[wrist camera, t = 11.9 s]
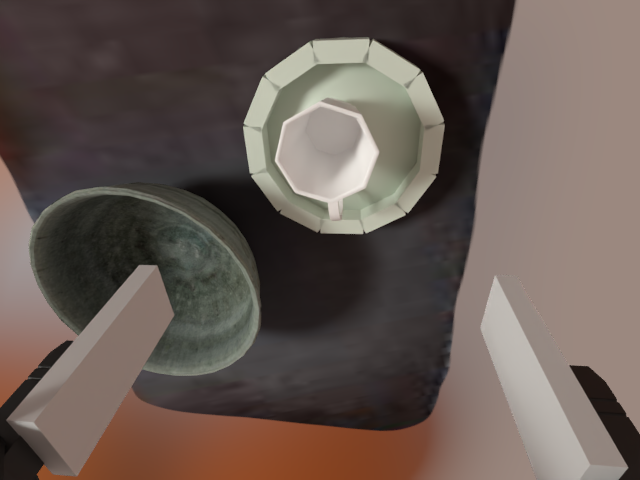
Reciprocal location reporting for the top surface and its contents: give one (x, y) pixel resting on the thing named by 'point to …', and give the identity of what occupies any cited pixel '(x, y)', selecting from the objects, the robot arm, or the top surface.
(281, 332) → the top surface
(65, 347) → the robot arm
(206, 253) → the bowl
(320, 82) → the tray
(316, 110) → the cup
